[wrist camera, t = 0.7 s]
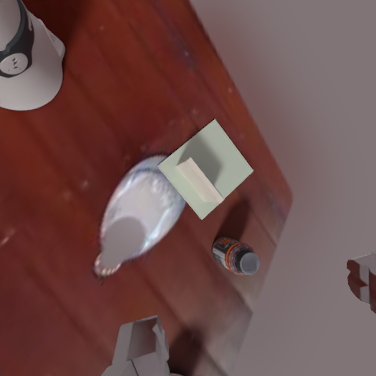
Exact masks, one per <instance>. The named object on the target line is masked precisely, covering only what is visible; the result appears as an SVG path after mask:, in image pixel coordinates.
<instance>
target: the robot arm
mask: <svg viewBox="0 0 376 376" xmlns="http://www.w3.org/2000/svg"><path fill="white" fill-rule="evenodd" d="M53 41H54V42H53ZM64 54H65V46H64V44H63V43H62V41H61V40H59V39H58V38H57V37H56V36H55V35H54V34H53V33H51V32H50V31H49V30H48V29H47V28H46V27H45V25H44V23H43V22H42V21H41V20H40V19H37V18H36V17H35V16H34V15H33V14H32V13H30V12H29V11H28V10H27V9H26V7H25V5H24V4H23V2H22V0H0V107H3V108H7V109H12V110H30V109H35V108H38V107H41V106H43V105H45V104H47V103H48V102H49V101H51V100H52V99H53V98H54V97H55V96H56V94H57V93H58V91H59V89H60V87H61V84H62V78H63V72H62V59H63V57H64ZM347 269H348V270H350V271H351V272H350V274H349V275H348V285H349V287H350V289H351V291H352V292H353V293H354V295H355V296H356V297H357V298H359V299H360V300H361V301H363V302H366V303H369V304H370V308H371V310H372V311H373V312H374V313H376V252H373V253H371V254H366V255H363V256H360V257H356V258H353V259H350V260H348V262H347ZM168 359H169V348H168V341H167V337H166V333H165V331H164V330H163V329H162V322H161V319H160V317H159V316H158V315H156V316H152V317H148V318H145V319H141V320H137V321H134V322H131V323H127V324H123V325H122V326H121V327H120V330H119V334H118V339H117V343H116V348H115V353H114V357H113V362H112V366H109V367H107V369H106V370H105V371H104V373H103V374H102V375H101V376H170V373H169V367H168V364H167V360H168Z"/></svg>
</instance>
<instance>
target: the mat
mask: <svg viewBox="0 0 376 376" xmlns="http://www.w3.org/2000/svg"><path fill="white" fill-rule="evenodd" d="M190 157H191V158H193V160H194V161H195V162H196V163H197V165H198V166H199V167H200V168H201V170H202V171H203V172H204V174H205V175H206V176H207V177H208V179H209V180H210V181H211V182H212V184H213V185H214V186H215V187H216V189H217V190H218V191H219V193H220V194H221V195H222V196H223V199H225V198H226V197H227V196H228V195H229V194H230V193H231V192H232V191H233V190H234V189H235V188H236V187H237V186H238V185H239V184H240V183H241V182H242V181H243V180H244V179H246V178H247V177H248V176H249V175H250V174H251V173H252V172H253V170H252V168H251V167H250V165H249V164H248V163H247V161H246V160H245V159H244V157H243V156H242V155H241V153H240V152H239V151H238V149H237V148H236V147H235V145H234V144H233V143H232V141H231V140H230V139H229V137H228V136H227V134H226V133H225V132H224V130H223V129H222V128H221V126H220V125H219V124H218V122H217V121H216V120H215V119H214V120H213V121H212V122H211V123H209V124H208V125H207V126H206V127H205V128H203V129H202V130H201V131H200V132H198V133H197V134H196V135H195V136H194V137H192V138H191V139H190V140H189V141H187V142H186V143H185V144H184V145H182V146H181V147H180V148H179V149H178V150H176V151H175V152H174V153H173V154H171V155H170V156H169V157H168V158H167V159H165V160H164V161H163V162H162V163H160V164H159V165H158V166H157V167H158V168H159V169H160V170H161V171H162V173H163V174H164V175H165V176H166V177H167V179H168V180H169V181H170V182H171V184H172V185H173V186H174V187H175V188H176V190H177V191H178V192H179V193H180V194H181V196H182V197H183V198H184V199H185V200H186V202H187V203H188V204H189V205H190V206H191V208H192V209H193V210H194V211H195V213H196V214H197V215H198V216H199V217H200V219H201V220H202V219H204V218H205V217H206V216H207V215H208V214H209V213H210V212H211V211H212V210H213V209H214V208H215V207H216V206H217V205H218V204H219V203H211V202H204V200H203V199H202V198H201V197H200V195H199V194H198V193H197V192H196V190H195V189H194V188H193V187H192V186H191V184H190V183H189V182H188V181H187V179H186V178H185V177H184V176H183V174H182V173H181V172H180V171H179V169H178V168H177V167H176V166H177V165H178V164H179V163H181V162H183V161H185V160H187V159H188V158H190Z"/></svg>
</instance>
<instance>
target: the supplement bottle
mask: <svg viewBox="0 0 376 376" xmlns="http://www.w3.org/2000/svg"><path fill="white" fill-rule="evenodd" d="M212 255H213V257H214V259H215V260H216V261H217V262H219V263H220V264H222V265H223V266H225V267H226V268H227V269H229V270H230V271H232V272H233V273H235V274H237V275H245V274H247V275H252V274H254V273H255V272H256V271H257V270H258V268H259V265H260V261H259V258H258V256H257V255H256V254H255V252H254V250H253V249H252V248H251V247H250V246H249V245H247V244H245V243H242V242H240V241H237V240H235V239H232V238H229V237H220V238H218V239H217V240H216V241H215V242H214V243H213V246H212Z"/></svg>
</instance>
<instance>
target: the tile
mask: <svg viewBox="0 0 376 376" xmlns="http://www.w3.org/2000/svg"><path fill="white" fill-rule="evenodd" d="M176 167H177V168H178V169H179V171H180V172H181V173H182V174H183V176H184V177H185V178H186V179H187V181H188V182H189V183H190V184H191V186H192V187H193V188H194V189H195V190H196V192H197V193H198V194H199V195H200V197H201V198H202V199H203V200H204V202H211V203H221V202H222V201H223V200H224V199H223V196H222V195H221V194H220V193H219V191H218V190H217V189H216V187H215V186H214V185H213V184H212V182H211V181H210V180H209V179H208V177H207V176H206V175H205V174H204V172H203V171H202V170H201V168H200V167H199V166H198V165H197V163H196V162H195V161H194V160H193V158H191V157H190V158H188V159H187V160H185V161H183V162H181V163H179V164H178V165H177V166H176Z"/></svg>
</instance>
